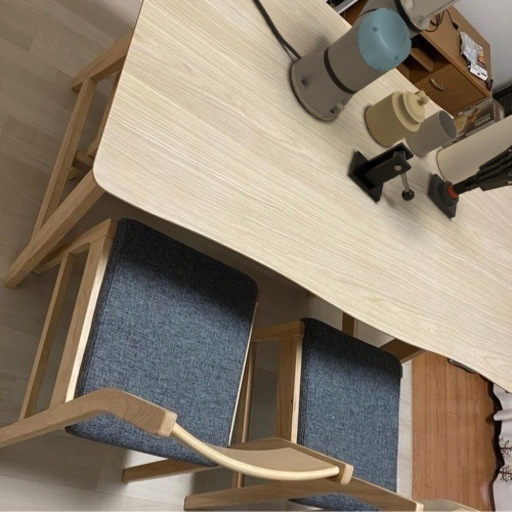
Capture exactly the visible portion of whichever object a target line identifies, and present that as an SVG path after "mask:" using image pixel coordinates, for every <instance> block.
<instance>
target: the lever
mask: <svg viewBox="0 0 512 512" xmlns="http://www.w3.org/2000/svg"><path fill="white" fill-rule="evenodd" d="M398 154H400V155H401V156H402V157H403V158H404V159H405V160H406V161H407V162H408V160H407V158H406V153H405V151H395V152H394V155H393V157H394V156H396V155H398ZM400 178H401V183H402V187H403V190H402V191H401V193H400V195H401V198H402V200H403V201H404V202H411V201H412V200H413V199H414V198H415V191H414V190H413V189H412V188H410V185H409V181H408V176H407V172H405V173H403V174H401V175H400Z"/></svg>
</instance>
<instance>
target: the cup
mask: <svg viewBox="0 0 512 512" xmlns="http://www.w3.org/2000/svg"><path fill="white" fill-rule="evenodd" d="M456 137H457V128H456V125H455V123H454V121H453V118H452V116H451V115H450V114H449V113H448V112H447V111H445V110H444V109H440V110H438V111H437V112H435V113H433V114H431V115H429V116H427V117H426V118H424V121H423V122H420V127H419V129H418V130H417V131H416V132H414V133H413V134H411V135H409V136H407V137H406V141H407V143H408V146H409V147H410V150H411V151H412V152H413V154H414V155H417V156H418V157H423V156H425V155H428V154H429V153H431V152H434V151H435V150H437V149H439V148H441V147H443V145H445V144H447V143H449V142H451V141H453V140H455V139H456Z"/></svg>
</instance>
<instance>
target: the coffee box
mask: <svg viewBox="0 0 512 512" xmlns="http://www.w3.org/2000/svg"><path fill="white" fill-rule="evenodd" d="M504 118H506V117H505V108H504V107H503V105H501V103H499V101H497V100H496V99H495V98H494V97H493V96H491V97H489V98H487V99H485V100H483V101H482V102H480V103H478V104H476V105H475V106H472V107H471V108H469V109H467V110H466V111H464V112H462V113H460V114H458V115H457V116H454V117H453V118H452V119H453V121H454V123H455V125H456V128H457V137H456V139H455V140H453V141H451V142H449V143H447V144H445V145H443V146H442V147H443V148H444V149H445V148H447V147H449V146H451V145H453V144H455V143H457V142H459V141H461V140H463V139H465V138H467V137H469V136H471V135H473V134H475V133H477V132H479V131H481V130H483V129H485V128H487V127H489V126H491V125H493V124H495V123H497V122H499V121H501V120H502V119H504Z"/></svg>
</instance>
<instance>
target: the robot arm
mask: <svg viewBox="0 0 512 512" xmlns="http://www.w3.org/2000/svg"><path fill="white" fill-rule="evenodd" d="M460 1H461V0H367V1H366V2H365V4H364V6H363V7H362V10H361V11H360V13H359V15H358V16H357V18H356V19H355V21H354V22H353V24H352V25H351V27H350V28H349V30H348V31H346V32H345V33H344V34H343V35H342V36H340V37H339V38H338V39H337V40H335V41H334V42H333V43H331V45H329V46H328V47H326V48H325V49H323V50H320V51H316V52H314V53H311V54H307V55H305V56H301V55H300V54H299V53H298V52H297V51H296V49H295V48H294V47H293V46H292V45H291V44H290V43H289V42H288V41H287V40H286V39H285V38H284V37H283V36H282V34H281V33H280V32H279V30H278V28H277V27H276V25H275V23H274V22H273V20H272V19H271V16H270V15H269V13H268V12H267V10H266V8H265V6H264V5H263V4H262V2H261V1H260V0H254V2H255V4H256V5H257V6H258V8H259V10H260V11H261V13H262V14H263V16H264V18H265V20H266V21H267V24H269V26H270V28H271V30H272V31H273V33H274V35H276V37H277V39H278V40H279V41H280V42H281V44H282V45H284V46H285V48H287V50H289V52H291V54H292V55H293V56H294V57H295V58H296V59H297V60H296V61H295V62H294V63H293V64H292V66H291V69H290V82H291V87H292V89H293V92H294V94H295V96H296V98H297V100H298V101H299V102H300V104H301V106H303V107H304V109H305V110H306V111H307V112H308V113H309V114H311V116H313V117H315V118H317V119H319V120H323V121H330V120H332V119H334V118H336V117H337V116H339V115H340V114H341V113H342V112H344V111H345V110H346V109H347V107H346V106H347V105H348V103H349V102H350V100H351V99H352V98H353V97H354V96H355V94H358V93H359V92H360V91H361V90H363V89H365V88H366V87H367V86H369V85H370V84H373V82H376V80H379V78H381V77H383V76H384V75H386V74H387V73H389V72H390V71H392V70H394V69H396V68H397V67H399V66H400V65H401V64H402V62H404V61H405V60H406V59H407V58H408V57H409V54H410V53H411V50H412V40H411V39H413V38H414V37H415V36H417V35H419V34H420V33H422V32H424V31H426V30H427V29H428V28H429V26H430V23H431V19H432V18H434V17H435V16H437V15H439V14H440V13H442V12H444V11H445V10H447V9H448V8H451V7H452V6H454V5H455V4H457V3H459V2H460ZM485 167H486V168H485ZM479 169H480V170H479V171H478V172H477V173H476V174H475V175H473V176H470V177H468V178H467V179H465V180H463V181H461V182H458V183H456V184H454V185H453V188H452V189H453V190H454V191H455V192H456V193H457V194H458V195H459V196H460V195H462V194H465V193H467V192H471V191H475V190H476V189H478V188H479V189H480V190H481V191H482V192H487V191H491V190H496V189H501V188H504V187H508V186H510V187H512V145H511V146H510V147H508V148H507V149H506V150H505V151H503V152H502V153H500V154H499V155H497V156H495V157H494V158H492V159H491V160H489V161H487V162H486V163H484V164H483V165H481V166H480V167H479Z"/></svg>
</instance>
